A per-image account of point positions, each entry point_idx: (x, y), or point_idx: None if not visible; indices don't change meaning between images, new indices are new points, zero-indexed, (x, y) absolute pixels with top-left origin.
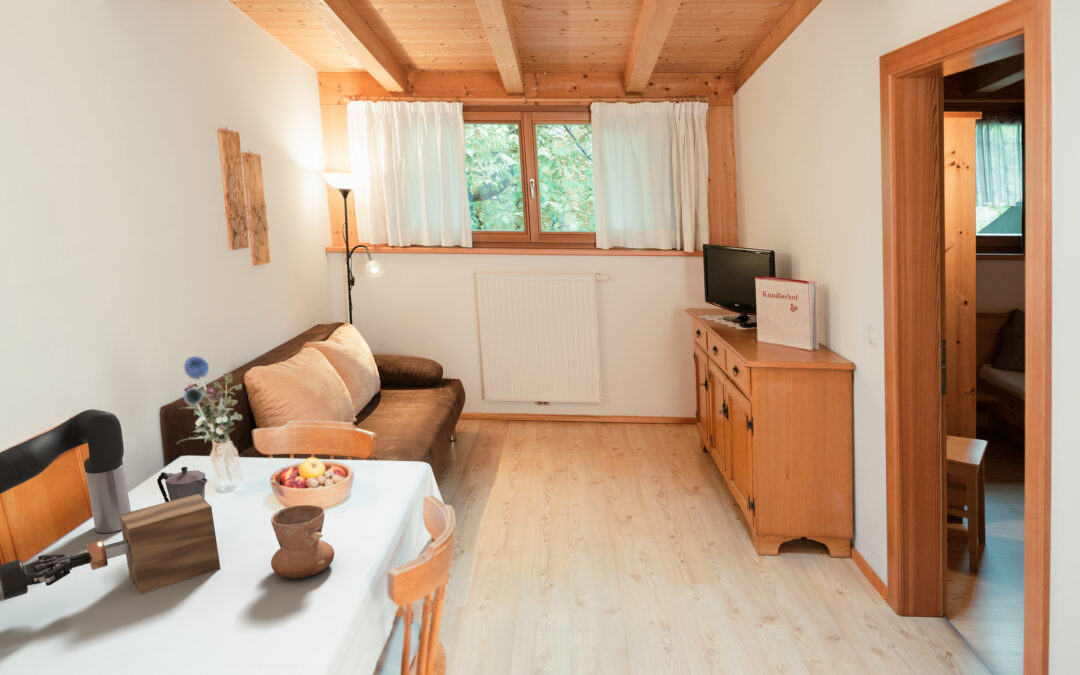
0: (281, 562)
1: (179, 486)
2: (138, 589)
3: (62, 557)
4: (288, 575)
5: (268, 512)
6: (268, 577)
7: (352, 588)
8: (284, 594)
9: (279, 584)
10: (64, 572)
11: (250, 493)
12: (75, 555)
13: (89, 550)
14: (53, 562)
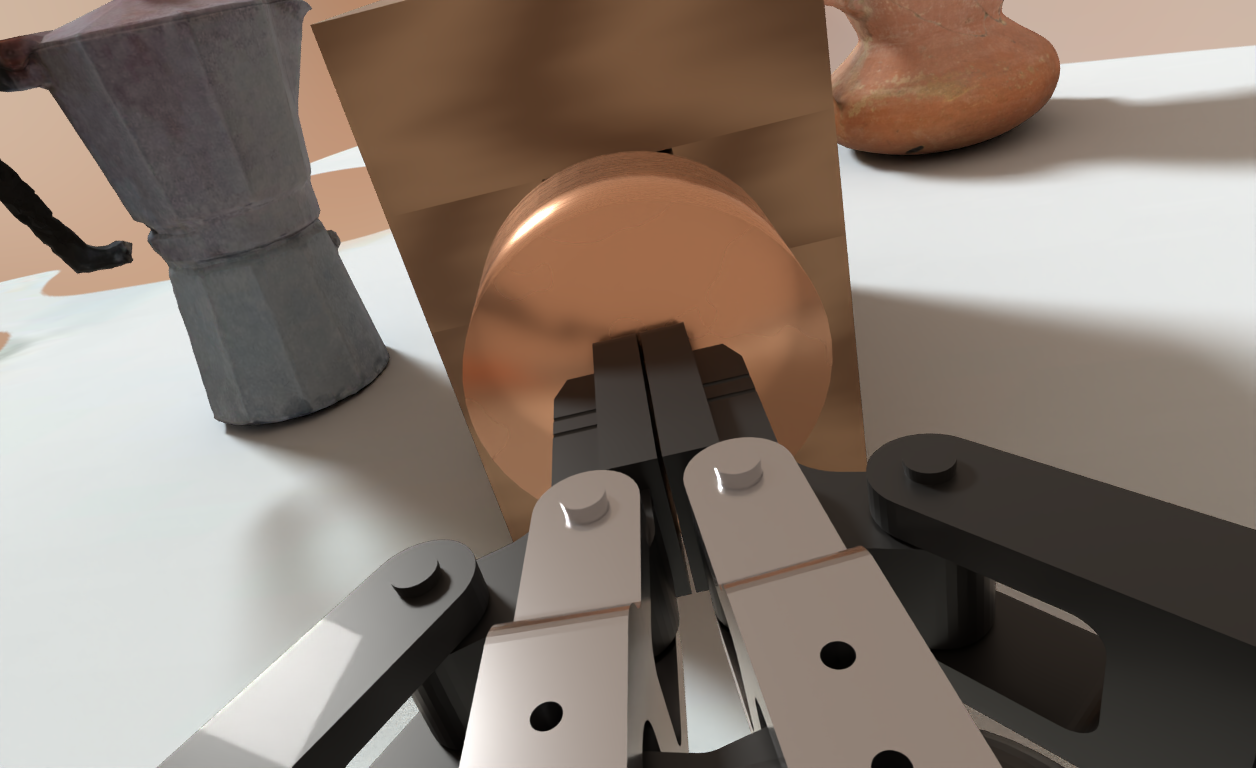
0: (1015, 61)
1: (225, 25)
2: (846, 469)
3: (547, 553)
4: (1044, 99)
5: (358, 251)
6: (947, 175)
7: (1141, 63)
8: (1134, 130)
9: (1031, 150)
10: (985, 626)
11: (131, 303)
12: (608, 418)
13: (741, 222)
14: (878, 607)
